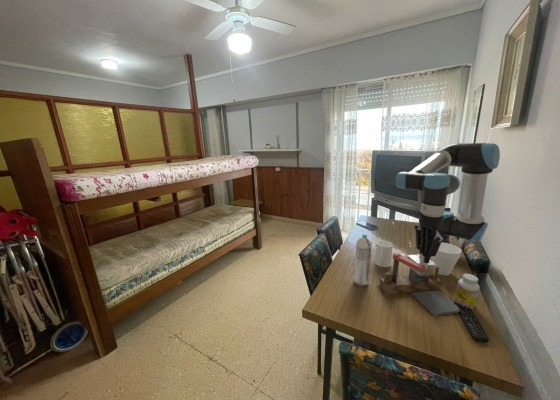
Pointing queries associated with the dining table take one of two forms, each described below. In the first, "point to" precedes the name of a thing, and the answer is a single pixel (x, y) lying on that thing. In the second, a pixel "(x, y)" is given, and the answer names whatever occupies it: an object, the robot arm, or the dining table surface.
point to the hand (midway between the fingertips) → (422, 268)
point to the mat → (436, 302)
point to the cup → (446, 258)
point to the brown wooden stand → (408, 281)
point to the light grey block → (428, 271)
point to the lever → (409, 262)
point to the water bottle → (362, 261)
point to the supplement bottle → (467, 291)
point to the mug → (383, 253)
